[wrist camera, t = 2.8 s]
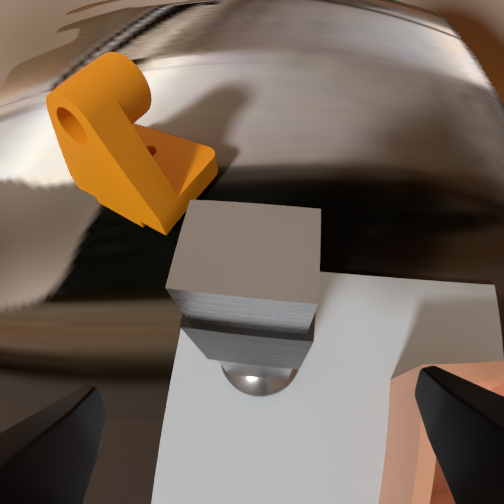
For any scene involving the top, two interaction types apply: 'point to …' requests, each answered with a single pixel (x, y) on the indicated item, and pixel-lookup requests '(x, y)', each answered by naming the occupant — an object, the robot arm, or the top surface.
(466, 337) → the bench mat
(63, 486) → the robot arm
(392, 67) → the top surface
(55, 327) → the top surface
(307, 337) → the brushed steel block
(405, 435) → the holder
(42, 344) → the top surface
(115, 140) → the bracket
